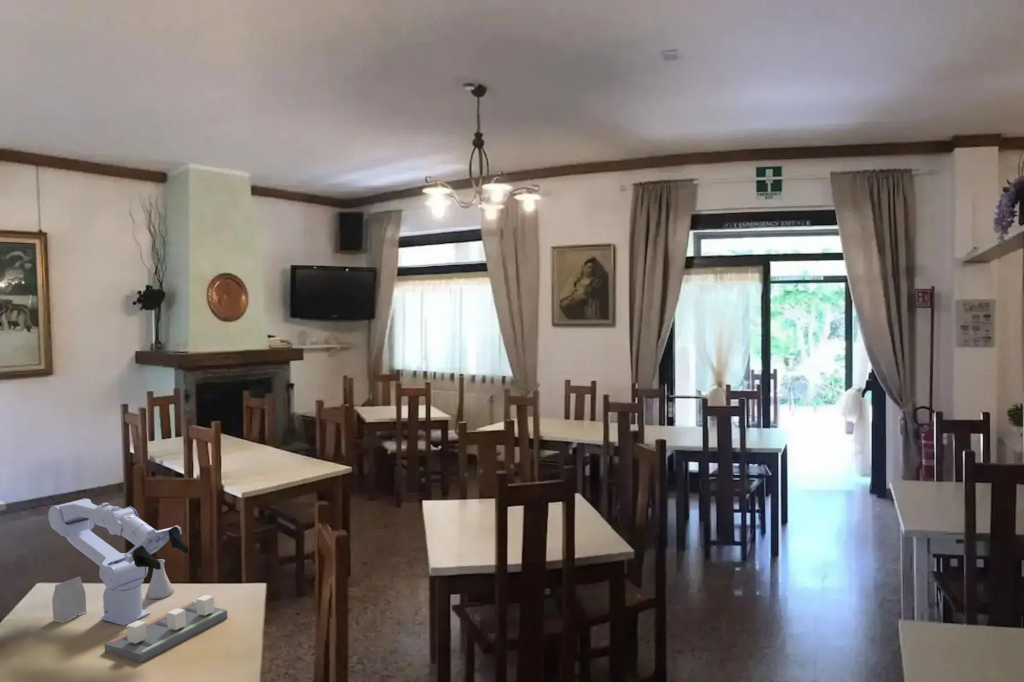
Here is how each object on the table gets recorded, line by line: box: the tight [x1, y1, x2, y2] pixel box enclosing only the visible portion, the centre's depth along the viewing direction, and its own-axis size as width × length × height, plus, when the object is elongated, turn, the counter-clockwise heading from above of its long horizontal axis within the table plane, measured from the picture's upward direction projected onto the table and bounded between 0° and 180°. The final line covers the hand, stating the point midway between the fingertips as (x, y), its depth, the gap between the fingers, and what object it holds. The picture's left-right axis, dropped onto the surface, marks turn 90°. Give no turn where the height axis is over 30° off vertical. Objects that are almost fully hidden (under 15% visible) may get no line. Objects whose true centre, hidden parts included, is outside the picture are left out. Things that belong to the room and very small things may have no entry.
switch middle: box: [166, 607, 186, 630], centre depth 184 cm, size 3×3×4 cm
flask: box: [145, 558, 175, 600], centre depth 209 cm, size 7×7×10 cm
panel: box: [104, 601, 228, 663], centre depth 185 cm, size 13×26×2 cm, turn 155°
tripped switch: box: [126, 619, 147, 644], centre depth 177 cm, size 3×3×4 cm
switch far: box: [195, 594, 215, 615], centre depth 192 cm, size 3×3×4 cm
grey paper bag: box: [51, 576, 87, 622], centre depth 195 cm, size 4×7×10 cm, turn 156°
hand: (173, 557), depth 183 cm, fingers open, 7 cm apart
